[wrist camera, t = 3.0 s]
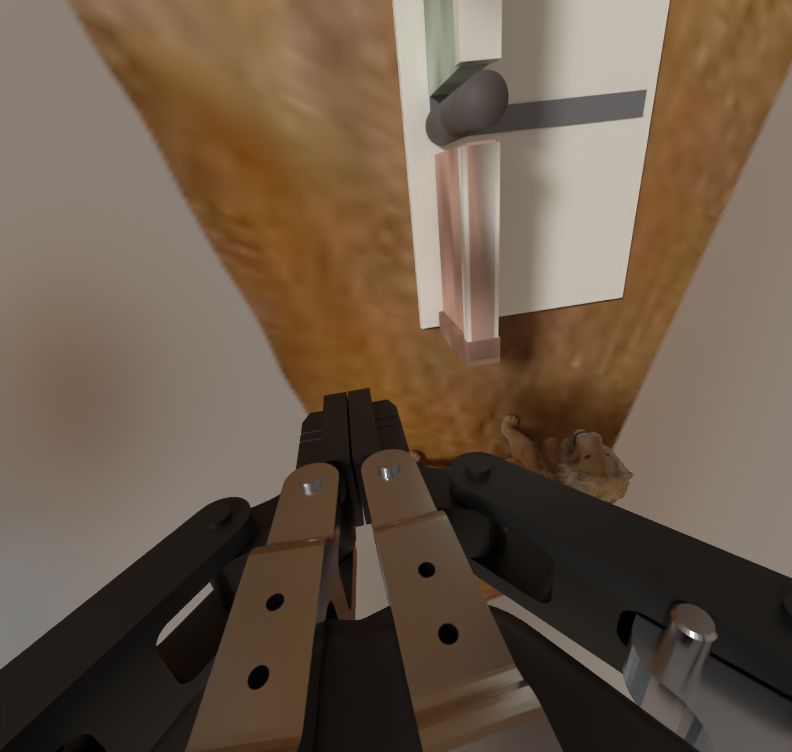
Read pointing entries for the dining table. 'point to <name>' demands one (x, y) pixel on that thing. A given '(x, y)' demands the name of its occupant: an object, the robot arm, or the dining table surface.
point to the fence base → (464, 67)
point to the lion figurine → (568, 461)
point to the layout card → (546, 147)
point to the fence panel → (470, 249)
